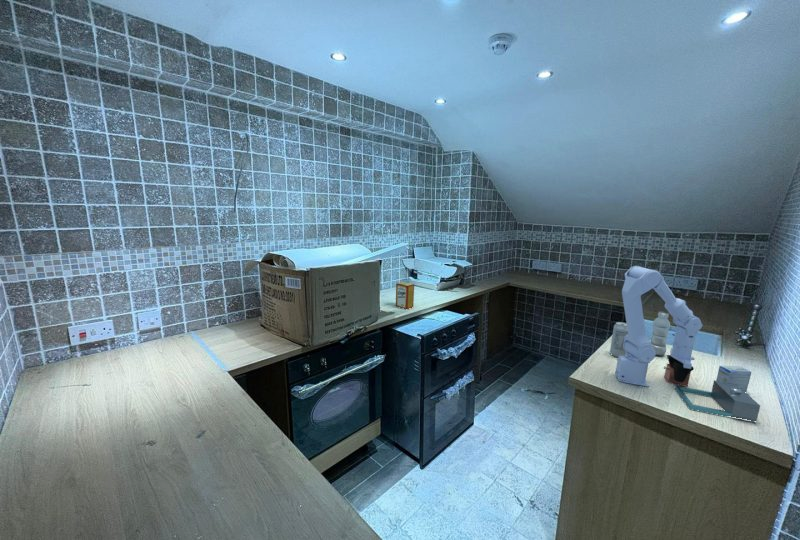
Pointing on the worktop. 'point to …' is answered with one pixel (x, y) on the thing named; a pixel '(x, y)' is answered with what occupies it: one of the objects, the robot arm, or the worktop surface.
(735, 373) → the medicine box
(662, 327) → the plastic bottle
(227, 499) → the worktop surface
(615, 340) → the energy drink can
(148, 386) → the worktop surface
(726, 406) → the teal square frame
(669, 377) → the brown wooden block
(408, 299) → the baking soda box
